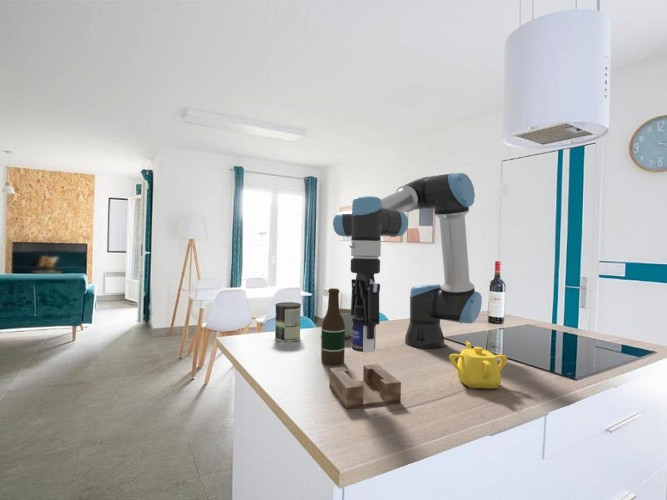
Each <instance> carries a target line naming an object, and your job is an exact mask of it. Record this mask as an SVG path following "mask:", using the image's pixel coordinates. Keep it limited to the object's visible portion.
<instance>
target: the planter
mask: <svg viewBox="0 0 667 500" xmlns="http://www.w3.org/2000/svg"><path fill="white" fill-rule="evenodd" d="M325 311H326V312H325V313H326V314H327V310H325ZM339 311H340V315H341V316H342V318H343V321H344V324H345V339H348V338H351V337H352V317H353V316H351V308H342V307H341V308H340V307H339ZM326 314H325V315H326Z"/></svg>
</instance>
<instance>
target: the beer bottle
mask: <svg viewBox="0 0 667 500" xmlns="http://www.w3.org/2000/svg"><path fill="white" fill-rule="evenodd" d="M327 292H328V302H327V303H328V304H327V310H326V311H327V314H325V315H324V317H323V319H322V321H321V338H320V339H321V341H320V345H321V346H320V347H321V348H320V350H321V351H320V353H321V354H320V356H321V357H320V358H321V362H322V364H323V365H327V366H340V365H342V364H344V363H345V347H346V346H345V345H346V344H345V341H346V340H345V339H346V338H345V324H344V321H343V318H342V316H341V315H340V311H339V308H340V300H339V293H340V289H339V288H329V289H328V291H327Z"/></svg>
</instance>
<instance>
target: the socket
mask: <svg viewBox="0 0 667 500" xmlns="http://www.w3.org/2000/svg"><path fill="white" fill-rule="evenodd" d="M362 370H363V378H362V379H363V380H357V381H356V380H353V379H352V378H351V377H350V376H349V370H348V369H347V368H346V367H345V366H342V367H331V368H329V389H330V390H331V391H332V392H333V394H334V395H335V396H336V398H337V399H338V400H339V401H340V403H341V404H342V405H343V407H344V408H345V409H346V410H350V409H351V410H352V409H359V408H367V407H374V406H375V407H376V406H382V405H383V406H384V405H391V404H399V403H402V402H401V401H402V400H401V396H402V395H401V393H402V391H401V390H402V381H400V380H399V379H398V378H396V377H395V376H394V375H392V374H391V373H390V372H388V370H386V369H385V368H383V367H382V366H380V365H379V363H375V364H366V365H365V364H364V365H363V369H362Z"/></svg>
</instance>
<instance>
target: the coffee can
mask: <svg viewBox="0 0 667 500" xmlns="http://www.w3.org/2000/svg"><path fill="white" fill-rule="evenodd" d="M274 305H275V322H274V323H275V325H274V326H275V329H274V330H275V331H274V332H275V334H274V335H275V336H274V337H275V338H274V340H276V341H277V342H281V343H282V342H283V343H289V342H297V341H299V340H301V311H302V310H301V307H302V304H301V303H299V302H293V301H292V302H291V301H290V302H289V301H287V302H286V301H285V302H277V303H275V304H274Z"/></svg>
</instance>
